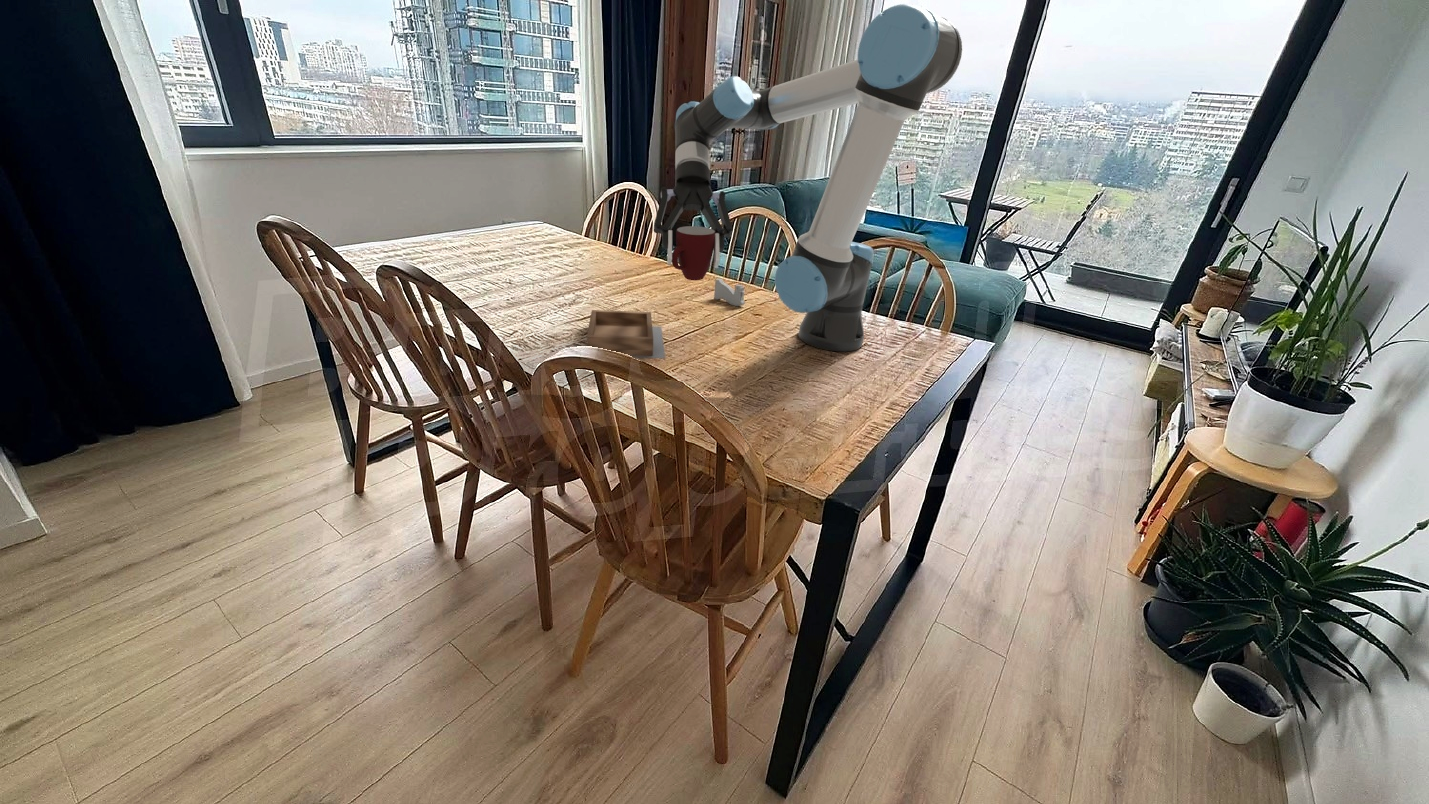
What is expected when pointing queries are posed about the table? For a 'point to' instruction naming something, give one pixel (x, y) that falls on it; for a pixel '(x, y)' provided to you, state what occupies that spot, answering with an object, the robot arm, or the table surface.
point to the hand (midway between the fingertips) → (693, 263)
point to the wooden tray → (621, 332)
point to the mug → (693, 251)
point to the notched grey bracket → (729, 293)
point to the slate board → (655, 344)
